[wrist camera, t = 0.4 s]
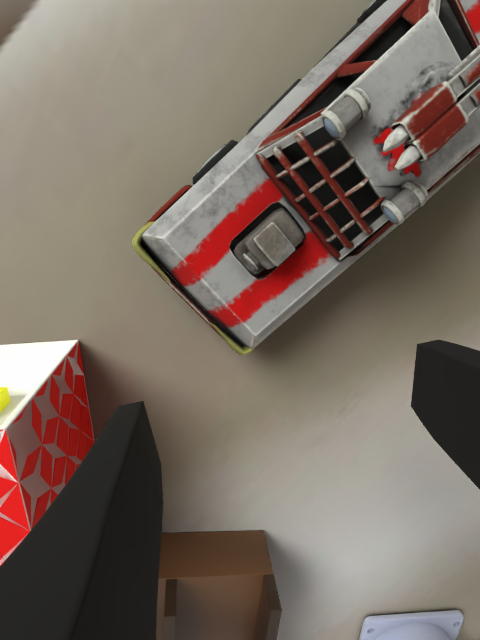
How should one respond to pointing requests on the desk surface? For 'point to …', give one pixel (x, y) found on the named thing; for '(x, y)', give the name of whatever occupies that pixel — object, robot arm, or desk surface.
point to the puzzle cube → (39, 431)
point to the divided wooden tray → (216, 587)
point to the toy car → (324, 169)
